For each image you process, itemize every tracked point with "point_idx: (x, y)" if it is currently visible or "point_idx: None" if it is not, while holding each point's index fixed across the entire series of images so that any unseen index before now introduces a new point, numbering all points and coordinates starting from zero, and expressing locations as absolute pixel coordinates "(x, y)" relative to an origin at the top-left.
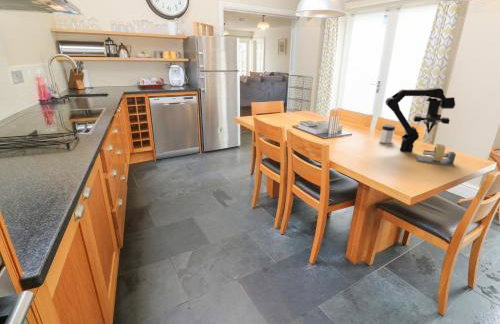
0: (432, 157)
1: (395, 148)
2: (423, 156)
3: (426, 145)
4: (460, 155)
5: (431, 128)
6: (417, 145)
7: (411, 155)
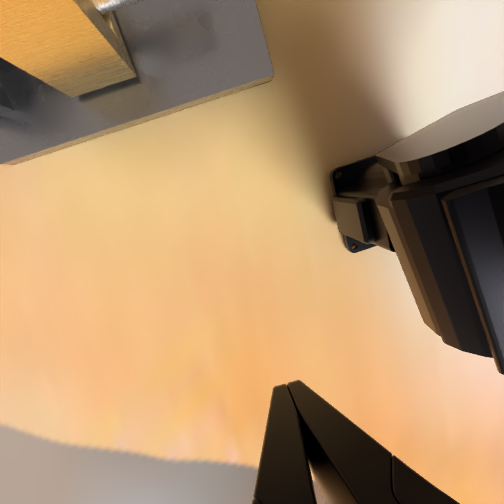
0: (127, 52)
1: None
2: (211, 66)
3: None
4: (15, 386)
5: (267, 492)
6: None
7: (311, 79)
